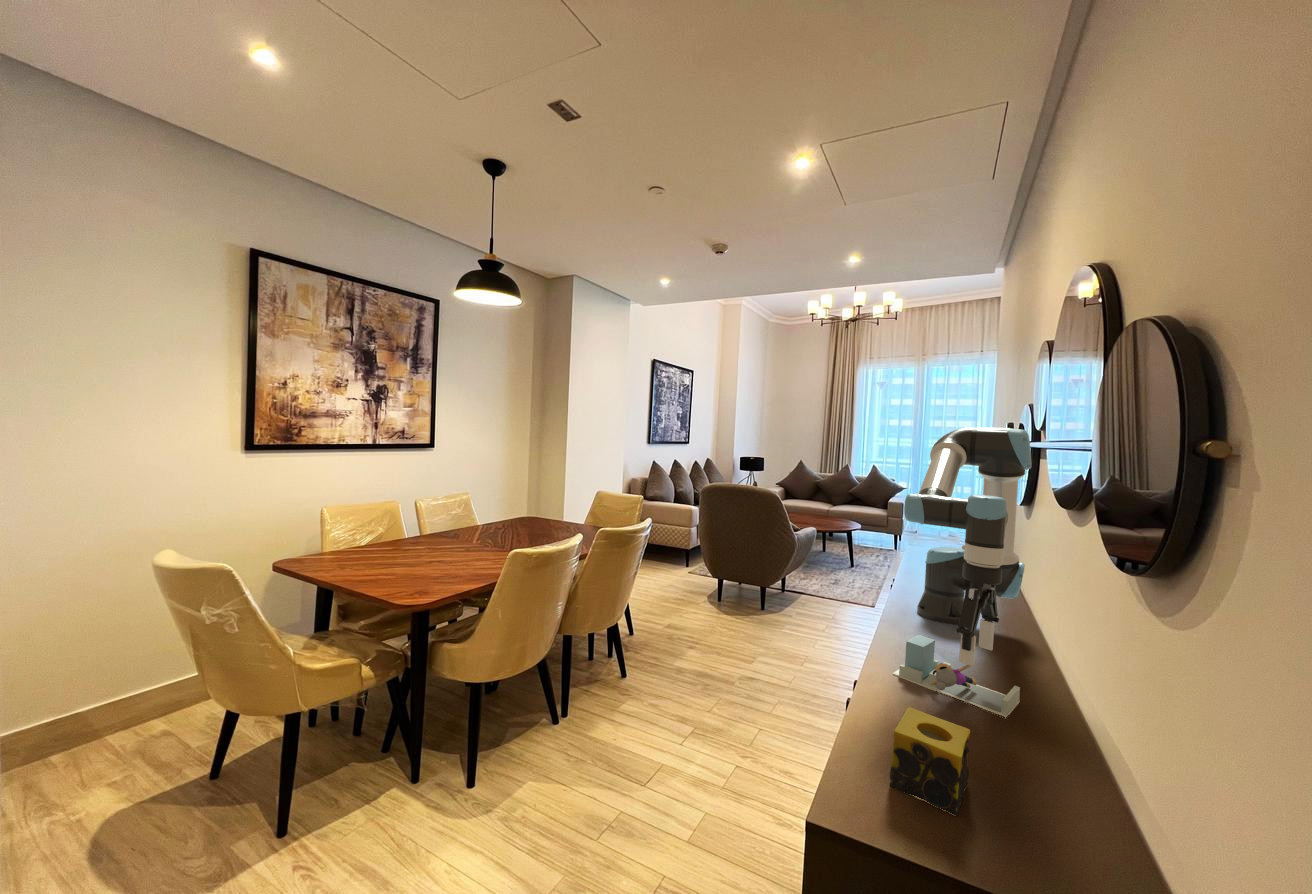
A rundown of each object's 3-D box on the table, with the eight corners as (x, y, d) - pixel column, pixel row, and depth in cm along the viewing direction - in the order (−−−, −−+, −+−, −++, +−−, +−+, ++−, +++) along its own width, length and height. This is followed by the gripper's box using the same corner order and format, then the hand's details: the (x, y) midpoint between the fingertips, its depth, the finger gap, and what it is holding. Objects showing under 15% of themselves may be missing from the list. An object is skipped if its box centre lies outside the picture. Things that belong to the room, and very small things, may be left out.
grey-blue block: (916, 665, 128) (918, 634, 127) (932, 671, 125) (935, 640, 124) (904, 673, 123) (906, 641, 123) (921, 679, 120) (923, 646, 120)
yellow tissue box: (903, 759, 91) (906, 705, 90) (968, 786, 84) (972, 728, 84) (887, 788, 83) (890, 729, 82) (957, 821, 76) (962, 756, 76)
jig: (910, 663, 130) (911, 649, 130) (1019, 702, 113) (1020, 686, 113) (892, 675, 123) (893, 661, 123) (1006, 719, 106) (1007, 702, 105)
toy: (987, 666, 116) (953, 650, 109) (1002, 690, 112) (968, 675, 105) (948, 685, 121) (913, 671, 114) (961, 709, 116) (925, 696, 110)
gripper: (980, 553, 125) (975, 637, 126) (944, 567, 108) (938, 664, 109) (1016, 560, 120) (1010, 647, 120) (984, 575, 103) (977, 677, 103)
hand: (976, 655), depth 115 cm, fingers open, 13 cm apart
